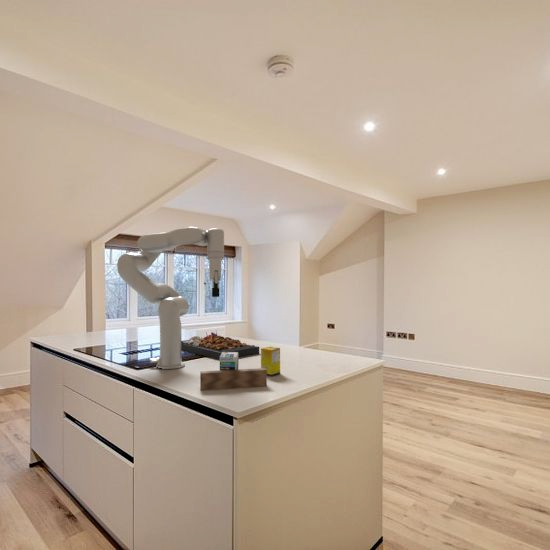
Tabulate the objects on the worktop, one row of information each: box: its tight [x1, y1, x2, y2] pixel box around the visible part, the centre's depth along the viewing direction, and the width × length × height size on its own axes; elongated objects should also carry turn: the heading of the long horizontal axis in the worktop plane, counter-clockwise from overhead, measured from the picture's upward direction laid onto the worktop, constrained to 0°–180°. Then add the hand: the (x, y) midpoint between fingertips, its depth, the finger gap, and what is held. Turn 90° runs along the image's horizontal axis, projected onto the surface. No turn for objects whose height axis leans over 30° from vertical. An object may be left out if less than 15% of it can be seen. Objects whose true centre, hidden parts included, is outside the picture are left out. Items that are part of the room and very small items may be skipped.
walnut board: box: [199, 367, 268, 391], centre depth 135 cm, size 24×3×6 cm, turn 102°
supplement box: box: [260, 346, 281, 377], centre depth 154 cm, size 6×6×11 cm
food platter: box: [181, 331, 260, 361], centre depth 206 cm, size 45×25×10 cm, turn 44°
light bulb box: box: [219, 352, 239, 371], centre depth 141 cm, size 11×7×11 cm, turn 3°
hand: (215, 296), depth 166 cm, fingers closed
